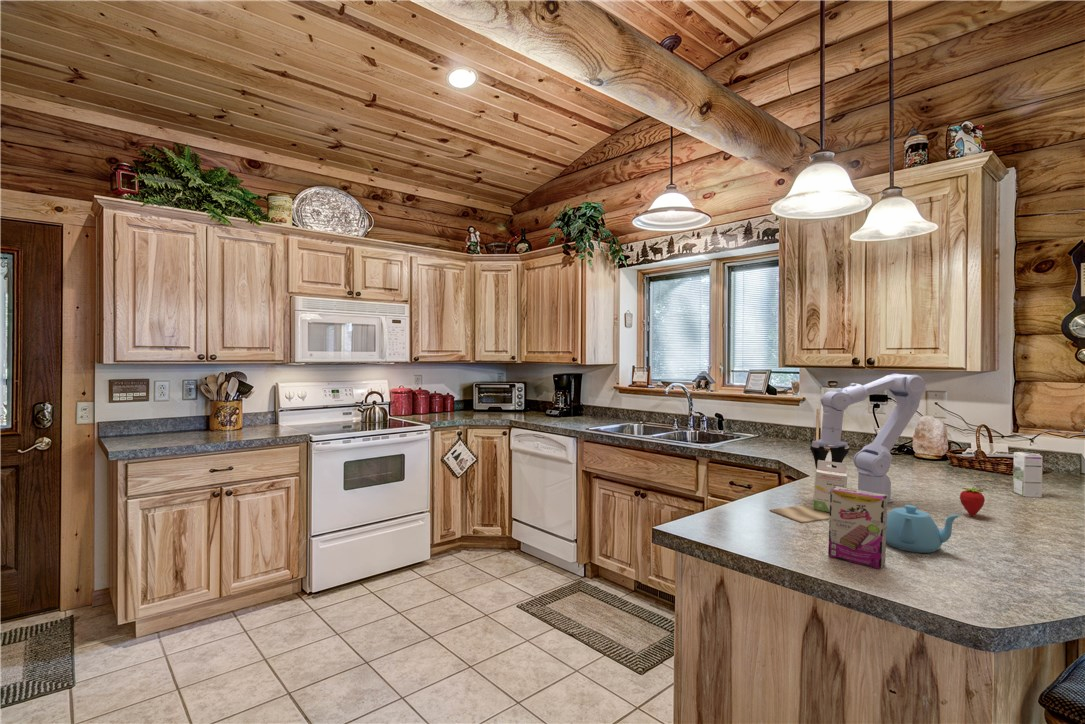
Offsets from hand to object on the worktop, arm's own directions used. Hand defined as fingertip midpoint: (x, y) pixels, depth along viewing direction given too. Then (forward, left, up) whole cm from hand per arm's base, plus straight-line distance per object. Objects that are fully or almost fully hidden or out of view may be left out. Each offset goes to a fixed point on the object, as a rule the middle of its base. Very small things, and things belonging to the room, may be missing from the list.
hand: (827, 469), depth 174 cm
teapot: (+14, +37, -11) cm, 41 cm away
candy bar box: (+35, +39, -11) cm, 54 cm away
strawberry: (-29, +26, -11) cm, 40 cm away
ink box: (+8, +8, -11) cm, 16 cm away
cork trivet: (+19, +8, -11) cm, 23 cm away
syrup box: (-74, +17, -11) cm, 76 cm away
